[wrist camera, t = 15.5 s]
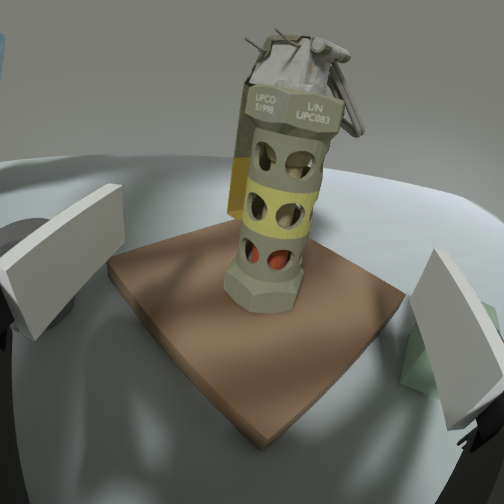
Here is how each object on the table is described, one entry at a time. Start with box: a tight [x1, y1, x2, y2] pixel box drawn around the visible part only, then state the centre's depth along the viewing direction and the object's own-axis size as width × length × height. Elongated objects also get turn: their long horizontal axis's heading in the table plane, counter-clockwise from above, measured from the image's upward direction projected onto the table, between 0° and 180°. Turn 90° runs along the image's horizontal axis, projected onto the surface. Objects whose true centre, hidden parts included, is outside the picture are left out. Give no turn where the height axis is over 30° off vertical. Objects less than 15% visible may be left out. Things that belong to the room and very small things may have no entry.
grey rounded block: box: [0, 218, 75, 332], centre depth 15 cm, size 6×6×5 cm
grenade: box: [224, 28, 365, 314], centre depth 16 cm, size 7×7×15 cm
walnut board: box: [106, 219, 406, 451], centre depth 21 cm, size 16×16×2 cm
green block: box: [399, 301, 501, 399], centre depth 15 cm, size 5×5×5 cm
